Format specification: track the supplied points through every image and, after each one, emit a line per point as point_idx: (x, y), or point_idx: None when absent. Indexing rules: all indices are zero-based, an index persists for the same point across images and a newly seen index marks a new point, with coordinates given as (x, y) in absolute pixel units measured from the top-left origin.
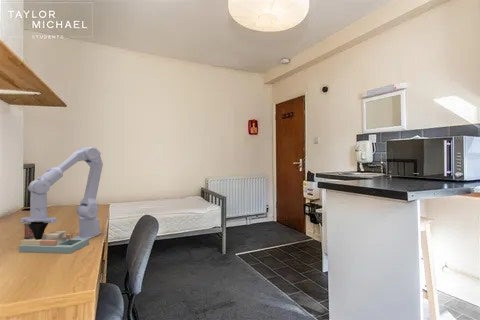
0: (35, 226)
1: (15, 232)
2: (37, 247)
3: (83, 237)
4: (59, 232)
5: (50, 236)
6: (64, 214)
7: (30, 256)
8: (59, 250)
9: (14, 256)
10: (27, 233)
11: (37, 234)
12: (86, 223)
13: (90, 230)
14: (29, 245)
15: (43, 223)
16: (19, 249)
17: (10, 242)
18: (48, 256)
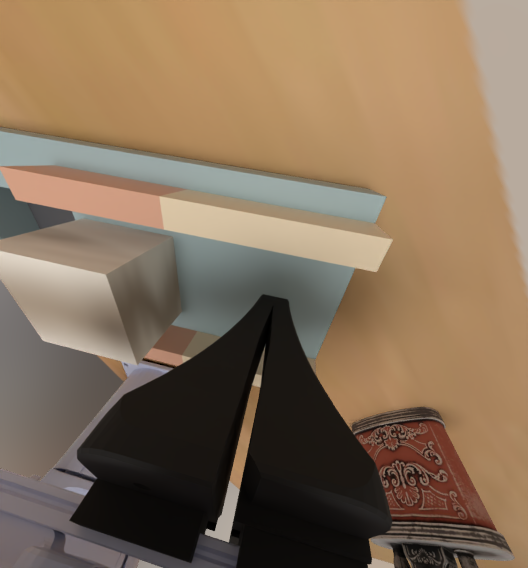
0: (205, 417)
1: (516, 492)
2: (193, 163)
3: (150, 366)
4: (55, 320)
5: (80, 253)
6: (388, 550)
7: (193, 37)
8: (24, 132)
9: (352, 35)
10: (436, 447)
11: (247, 320)
12: (83, 441)
13: (111, 398)
14: (283, 200)
15: (103, 479)
16: (371, 191)
17: (509, 389)
18: (47, 40)
